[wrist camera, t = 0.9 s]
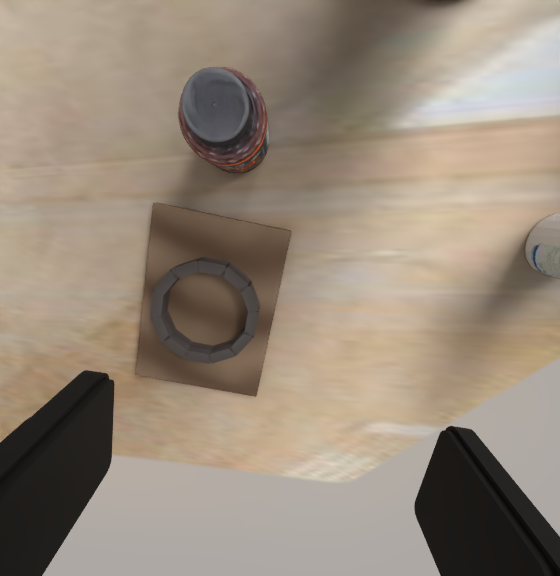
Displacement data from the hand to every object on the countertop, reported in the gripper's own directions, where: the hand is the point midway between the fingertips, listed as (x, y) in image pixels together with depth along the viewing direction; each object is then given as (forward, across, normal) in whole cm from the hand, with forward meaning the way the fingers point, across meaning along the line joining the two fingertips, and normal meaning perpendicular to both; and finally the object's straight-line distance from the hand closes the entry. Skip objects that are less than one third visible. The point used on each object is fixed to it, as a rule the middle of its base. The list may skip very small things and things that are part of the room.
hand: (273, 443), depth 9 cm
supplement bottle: (+25, +6, -11) cm, 28 cm away
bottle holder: (+24, +6, +5) cm, 26 cm away
